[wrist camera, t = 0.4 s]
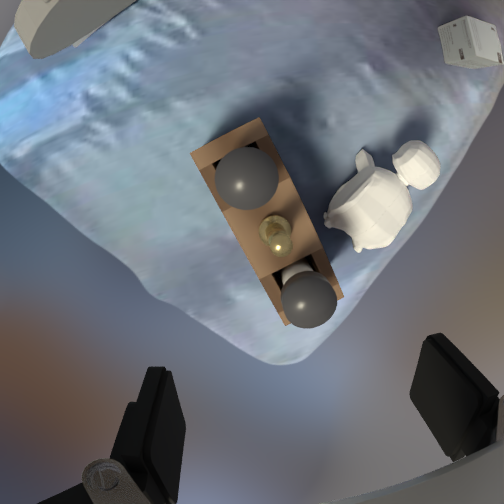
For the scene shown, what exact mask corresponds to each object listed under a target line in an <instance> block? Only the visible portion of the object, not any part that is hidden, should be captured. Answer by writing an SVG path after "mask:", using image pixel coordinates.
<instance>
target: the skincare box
mask: <svg viewBox="0 0 504 504" xmlns="http://www.w3.org/2000/svg"><path fill="white" fill-rule="evenodd" d="M438 32H439V36H440V40H441V45H442V50H443V55H444V62H445V64H449V65H455V66H460V67H465V68H470V69H477V68H483V67H490V66H497V65H504V61H503V56H502V51H501V45H500V41H499V38H498V34H497V31H496V27H495V25H493V24H490V23H487V22H484V21H481V20H479V19H476V18H473V17H470V16H464V17H461V18H458V19H456V20H454V21H451V22H449V23H446V24H444V25H441V26H439V27H438Z"/></svg>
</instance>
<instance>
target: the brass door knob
mask: <svg viewBox="0 0 504 504" xmlns="http://www.w3.org/2000/svg"><path fill="white" fill-rule="evenodd" d="M258 232H259V236H260V239H261V241H262V242H263V243H264V244H265V245H267V246H269V247H270V249H271V251H272V253H273V254H274V255H275V256H277V257H285V256H287V255H289V254H290V253H291V251H292V249H293V243H292V241H291V239H290V236H291V227H290V224H289V223H288V221H287V220H286V219H285V218H284V217H282V216H280V215H270V216H267V217H265V218H264V219H263V220H262V221H261V223H260V225H259V229H258Z"/></svg>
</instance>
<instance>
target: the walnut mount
mask: <svg viewBox="0 0 504 504" xmlns="http://www.w3.org/2000/svg"><path fill="white" fill-rule="evenodd" d="M250 143H252V145H253V147H254V148H257V149H259V150H262V151H263V152H265V153H266V154H268V155H269V156H270V157H271V158H272V160H273V161H274V163H275V164H276V167H277V170H278V174H279V182H278V187H277V190H276V192H275V194H274V196H273V197H272V198H271V200H270V201H269V202H267V203H266V204H265V205H263V206H261V207H259V208H256V209H252V210H241V209H237V208H234V207H232V206H230V205H229V204H227V203H226V202H225V201H224V200H223V199H222V198H221V197H220V195H219V194H218V192H217V189H216V186H215V172H216V168H217V166H218V164H219V163H218V161H217V160H219V159H221V158H223V157H224V156H225V155H226V154H227V153H229V152H230V151H232V150H234V149H237V148H241V147H244V146H246V145H248V144H250ZM190 155H191V156H192V158H193V160H194V162H195V164H196V166H197V167H198V169H199V171H200V173H201V175H202V177H203V178H204V180H205V182H206V184H207V186H208V187H209V189H210V191H211V193H212V195H213V197H214V198H215V200H216V202H217V204H218V206H219V208H220V209H221V211H222V213H223V215H224V217H225V218H226V220H227V222H228V224H229V226H230V227H231V229H232V231H233V233H234V235H235V237H236V238H237V240H238V242H239V244H240V246H241V247H242V249H243V251H244V253H245V255H246V256H247V258H248V260H249V262H250V264H251V265H252V267H253V269H254V271H255V273H256V274H257V276H258V278H259V280H260V282H261V283H262V285H263V287H264V289H265V291H266V292H267V294H268V296H269V298H270V300H271V301H272V303H273V305H274V307H275V309H276V310H277V312H278V314H279V316H280V318H281V319H282V321H283V323H284V325H285V326H286V325H288V324H291V323H290V322H289V321H288V319H287V318H286V316H285V314H284V310H283V307H282V303H281V298H280V296H281V290H282V287H283V282H282V279H281V277H280V278H279V276H278V274H277V272H276V271H278V270H280V269H282V268H284V267H286V266H288V265H290V264H292V263H294V262H296V261H298V260H300V259H302V258H304V257H306V256H308V257H309V259H310V261H311V262H310V263H309V264H310V266H311V268H312V269H313V271H315V272H318V273H320V274H322V275H323V276H325V277H326V278H327V280H328V281H329V283H330V284H331V286H332V287H333V289H334V291H335V292H336V295H337V300H339V299H341V298H343V297H344V295H343V293H342V290H341V288H340V286H339V283H338V281H337V279H336V276H335V274H334V271H333V269H332V267H331V265H330V262H329V260H328V258H327V255H326V253H325V251H324V249H323V246H322V244H321V242H320V240H319V237H318V235H317V233H316V231H315V229H314V227H313V224H312V222H311V220H310V218H309V216H308V214H307V211H306V209H305V207H304V205H303V203H302V201H301V199H300V197H299V195H298V192H297V190H296V188H295V186H294V184H293V182H292V180H291V178H290V176H289V174H288V172H287V170H286V168H285V166H284V164H283V162H282V160H281V158H280V156H279V154H278V152H277V150H276V148H275V146H274V144H273V142H272V140H271V138H270V136H269V134H268V133H267V131H266V129H265V127H264V125H263V123H262V121H261V119H260V117H259V118H257V119H255V120H252V121H250V122H248V123H246V124H244V125H242V126H240V127H238V128H236V129H234V130H232V131H230V132H228V133H226V134H225V135H223V136H221V137H219V138H217V139H215V140H213V141H211V142H209V143H208V144H206V145H204V146H202V147H200V148H198V149H197V150H195V151H193V152H191V153H190ZM270 215H280V216H282V217H284V218H285V219H286V220H287V221H288V223H289V224H290V227H291V236H290V239H291V241H292V243H293V249H292V251H291V253H290V254H289V255H287V256H285V257H277V256H275V255H274V254H273V253H272V251H271V249H270V247H269V246H267V245H265V244H264V243H263V242H262V241H261V239H260V236H259V232H258V229H259V225H260V223H261V221H262V220H263V219H264V218H265V217H267V216H270Z"/></svg>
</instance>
